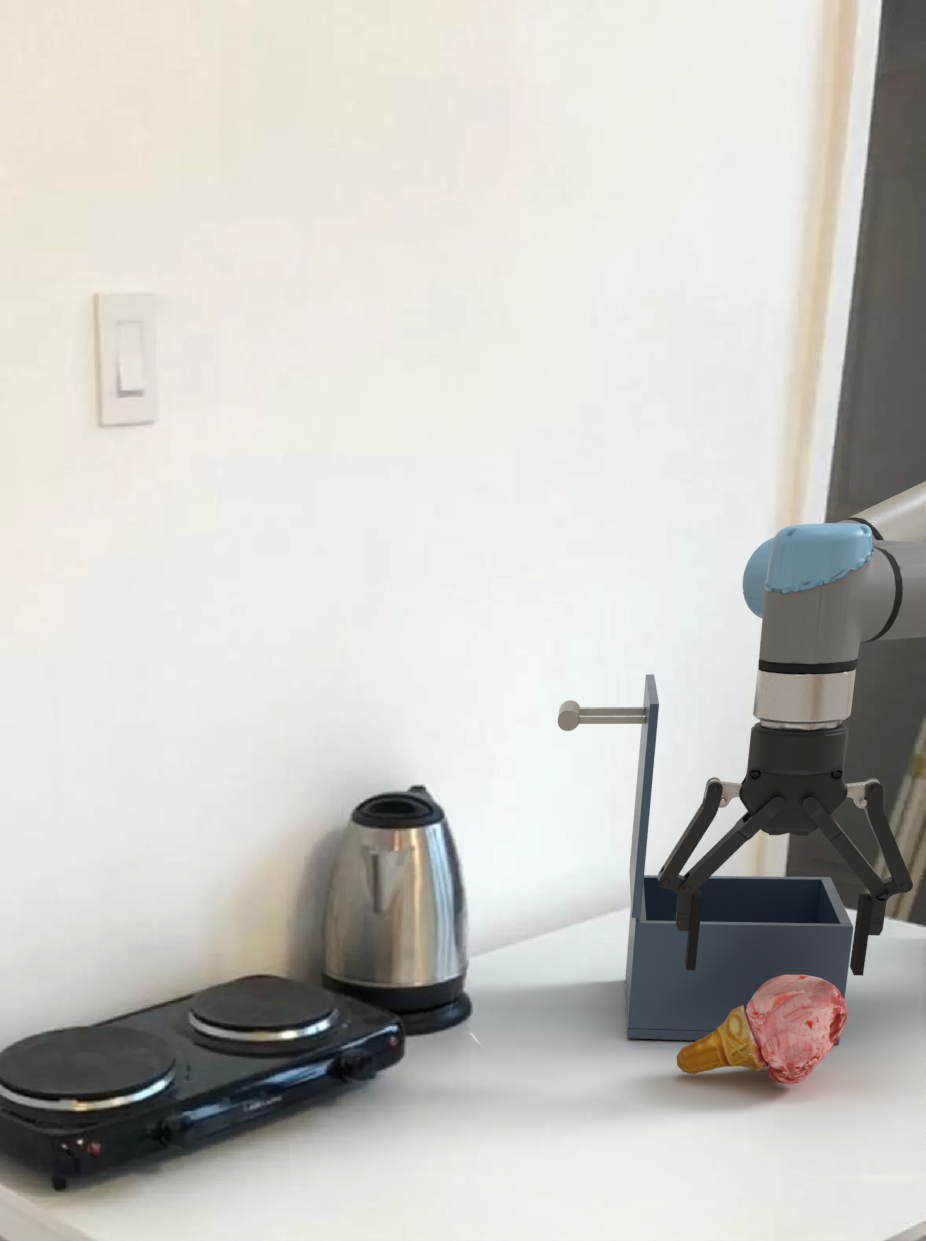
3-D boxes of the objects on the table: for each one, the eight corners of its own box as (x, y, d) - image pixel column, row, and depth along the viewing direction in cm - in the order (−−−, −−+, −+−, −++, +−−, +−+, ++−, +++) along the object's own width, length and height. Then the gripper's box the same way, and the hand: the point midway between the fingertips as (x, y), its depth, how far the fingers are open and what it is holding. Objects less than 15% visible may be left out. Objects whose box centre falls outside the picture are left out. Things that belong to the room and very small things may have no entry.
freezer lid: (654, 674, 177) (562, 675, 179) (659, 703, 160) (557, 704, 162) (637, 870, 184) (549, 868, 187) (640, 918, 168) (543, 915, 170)
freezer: (817, 986, 184) (830, 876, 179) (838, 1045, 167) (853, 926, 163) (625, 981, 189) (632, 874, 185) (626, 1038, 172) (635, 922, 168)
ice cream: (674, 1087, 156) (849, 1023, 150) (648, 1000, 162) (817, 934, 155) (710, 1142, 164) (879, 1083, 157) (685, 1057, 169) (847, 997, 163)
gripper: (957, 713, 148) (921, 961, 156) (641, 715, 154) (622, 952, 163) (974, 728, 141) (935, 985, 149) (643, 729, 148) (623, 975, 156)
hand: (772, 969), depth 156 cm, fingers open, 13 cm apart
